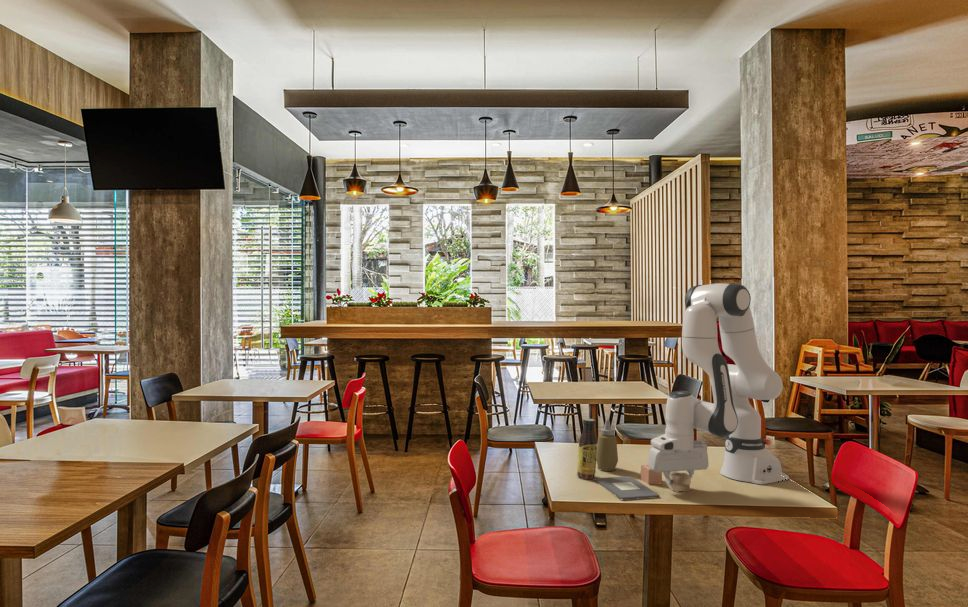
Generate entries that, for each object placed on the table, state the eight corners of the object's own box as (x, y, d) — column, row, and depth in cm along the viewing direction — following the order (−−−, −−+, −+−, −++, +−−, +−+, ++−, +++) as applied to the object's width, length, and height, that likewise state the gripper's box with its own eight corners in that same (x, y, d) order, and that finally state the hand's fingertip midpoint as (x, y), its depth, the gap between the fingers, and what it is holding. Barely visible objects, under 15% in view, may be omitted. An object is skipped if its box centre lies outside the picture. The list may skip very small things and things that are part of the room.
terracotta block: (653, 479, 181) (654, 464, 181) (661, 483, 176) (662, 469, 176) (640, 479, 179) (640, 465, 179) (648, 484, 174) (648, 469, 175)
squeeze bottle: (619, 467, 192) (621, 418, 192) (615, 474, 185) (616, 423, 185) (597, 464, 195) (599, 416, 195) (592, 470, 188) (594, 420, 188)
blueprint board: (630, 478, 180) (630, 475, 180) (659, 497, 163) (659, 494, 163) (595, 480, 177) (595, 477, 177) (621, 500, 160) (621, 497, 160)
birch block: (680, 485, 174) (680, 470, 174) (689, 491, 169) (689, 475, 169) (666, 486, 173) (667, 471, 173) (675, 491, 168) (676, 476, 168)
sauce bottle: (582, 480, 177) (583, 421, 177) (573, 474, 183) (575, 417, 183) (599, 479, 179) (600, 421, 179) (590, 473, 185) (592, 417, 185)
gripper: (701, 437, 176) (700, 478, 176) (646, 440, 172) (645, 482, 172) (713, 442, 170) (712, 485, 170) (656, 445, 165) (655, 488, 165)
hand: (678, 483), depth 171 cm, fingers closed on birch block, 5 cm apart
